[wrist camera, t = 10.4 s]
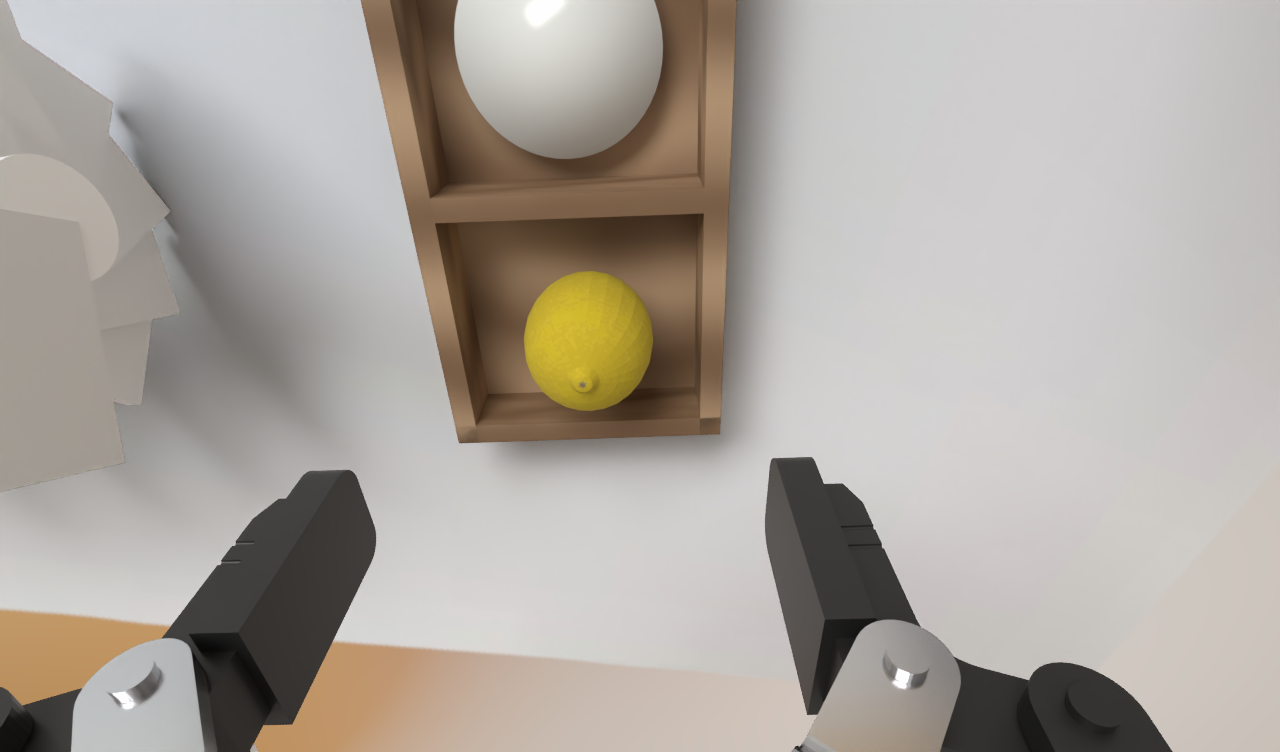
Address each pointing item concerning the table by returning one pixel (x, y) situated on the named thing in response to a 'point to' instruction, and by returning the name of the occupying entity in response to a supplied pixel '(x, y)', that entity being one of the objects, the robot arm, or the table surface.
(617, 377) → the lemon
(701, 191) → the divided wooden tray
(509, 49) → the white egg
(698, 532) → the table surface
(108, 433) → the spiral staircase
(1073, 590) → the table surface
